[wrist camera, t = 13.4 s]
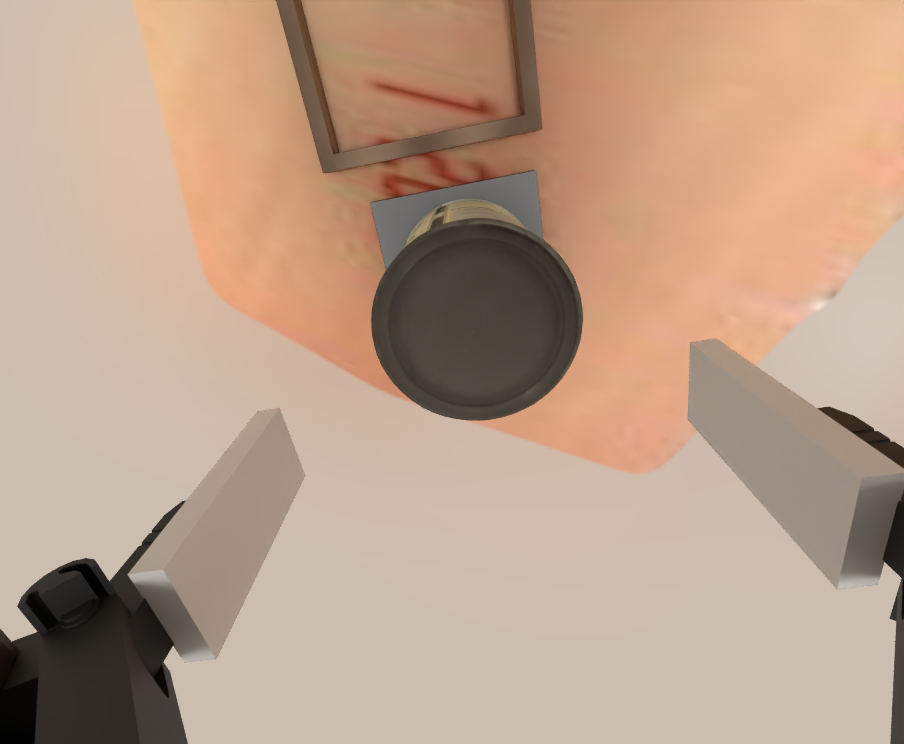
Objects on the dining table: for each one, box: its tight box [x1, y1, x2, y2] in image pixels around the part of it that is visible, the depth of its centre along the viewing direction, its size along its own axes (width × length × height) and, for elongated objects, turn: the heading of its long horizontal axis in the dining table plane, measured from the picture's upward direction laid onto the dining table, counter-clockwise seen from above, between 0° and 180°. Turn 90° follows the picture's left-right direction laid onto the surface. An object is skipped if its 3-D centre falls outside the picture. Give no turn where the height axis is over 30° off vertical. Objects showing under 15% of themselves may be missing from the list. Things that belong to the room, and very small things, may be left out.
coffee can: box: [371, 199, 583, 420], centre depth 29 cm, size 10×10×14 cm
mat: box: [370, 170, 543, 270], centre depth 36 cm, size 12×12×1 cm
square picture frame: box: [276, 0, 542, 173], centre depth 29 cm, size 15×15×2 cm
